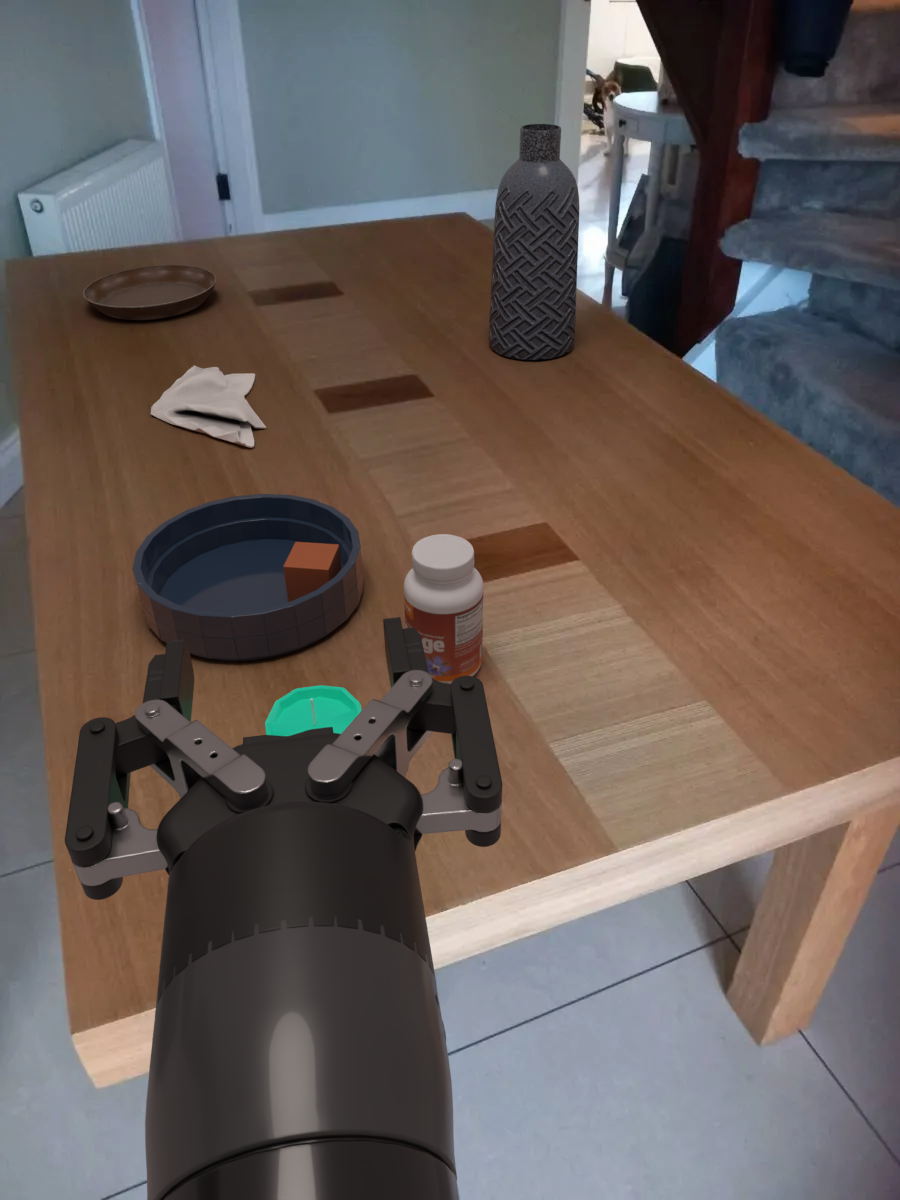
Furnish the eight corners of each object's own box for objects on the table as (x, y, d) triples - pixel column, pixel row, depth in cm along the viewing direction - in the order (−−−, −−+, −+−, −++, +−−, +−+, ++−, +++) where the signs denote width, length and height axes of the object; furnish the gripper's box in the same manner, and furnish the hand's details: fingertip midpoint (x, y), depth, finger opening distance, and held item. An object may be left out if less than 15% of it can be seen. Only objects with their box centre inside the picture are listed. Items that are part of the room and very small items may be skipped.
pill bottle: (391, 662, 75) (383, 549, 69) (446, 630, 79) (444, 519, 72) (442, 700, 72) (439, 583, 65) (498, 664, 75) (501, 550, 68)
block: (288, 604, 81) (282, 566, 79) (300, 578, 84) (295, 541, 82) (332, 607, 80) (328, 569, 78) (342, 581, 84) (339, 544, 81)
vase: (487, 361, 127) (490, 136, 110) (489, 330, 137) (493, 118, 120) (575, 363, 126) (592, 136, 110) (571, 331, 136) (586, 118, 119)
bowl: (110, 658, 76) (95, 609, 73) (187, 533, 92) (178, 489, 89) (340, 671, 74) (335, 622, 71) (379, 542, 90) (376, 498, 87)
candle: (321, 786, 64) (303, 654, 57) (392, 820, 62) (382, 687, 55) (265, 846, 60) (238, 711, 53) (338, 885, 58) (320, 749, 51)
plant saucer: (79, 331, 138) (74, 309, 136) (94, 289, 155) (89, 269, 153) (219, 320, 141) (215, 299, 139) (219, 280, 158) (216, 260, 156)
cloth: (155, 373, 125) (151, 357, 124) (257, 364, 127) (255, 348, 126) (147, 460, 104) (143, 442, 103) (269, 447, 107) (266, 429, 105)
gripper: (567, 897, 23) (459, 551, 36) (-24, 985, 21) (84, 588, 34) (551, 1050, 28) (460, 693, 41) (60, 1133, 26) (128, 732, 39)
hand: (287, 645), depth 37 cm, fingers open, 8 cm apart
